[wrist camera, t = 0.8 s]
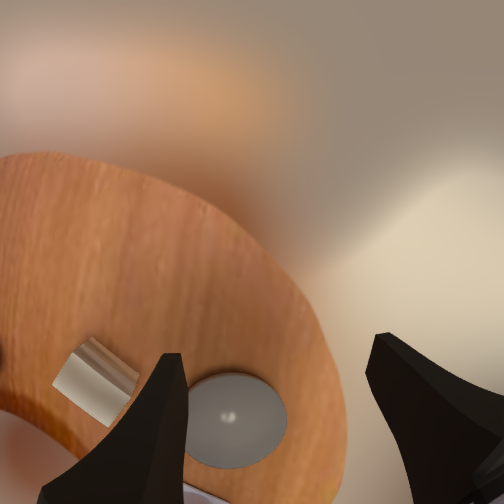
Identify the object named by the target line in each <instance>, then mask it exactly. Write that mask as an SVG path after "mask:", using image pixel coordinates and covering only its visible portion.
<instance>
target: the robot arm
mask: <svg viewBox="0 0 504 504" xmlns="http://www.w3.org/2000/svg"><path fill="white" fill-rule="evenodd" d="M365 374H366V377H367V380H368V383H369V386H370V388H371V391H372V394H373V396H374V398H375V400H376V402H377V404H378V406H379V408H380V410H381V412H382V414H383V416H384V418H385V420H386V422H387V424H388V426H389V428H390V430H391V432H392V433H393V435H394V438H395V440H396V442H397V445H398V447H399V450H400V453H401V456H402V459H403V462H404V466H405V469H406V472H407V476H408V480H409V484H410V488H411V493H412V497H413V502H414V504H504V396H503V395H499V394H496V393H493V392H491V391H488V390H485V389H483V388H480V387H478V386H476V385H473V384H471V383H469V382H467V381H465V380H463V379H461V378H459V377H457V376H455V375H454V374H452V373H450V372H448V371H447V370H445V369H443V368H442V367H440V366H438V365H437V364H435V363H434V362H432V361H431V360H429V359H428V358H426V357H425V356H423V355H422V354H420V353H419V352H417V351H416V350H415V349H413V348H412V347H410V346H409V345H408V344H406V343H405V342H403V341H402V340H400V339H399V338H397V337H396V336H394V335H393V334H391V333H389V332H387V333H382V334H376V335H375V339H374V342H373V346H372V350H371V354H370V358H369V361H368V365H367V368H366V372H365ZM188 417H189V395H188V387H187V382H186V378H185V373H184V368H183V363H182V358H181V353H164V354H163V355H162V356H161V357H160V359H159V361H158V363H157V365H156V367H155V369H154V370H153V372H152V374H151V376H150V377H149V379H148V381H147V382H146V384H145V386H144V387H143V389H142V390H141V392H140V393H139V395H138V397H137V398H136V399H135V401H134V402H133V404H132V405H131V406H130V408H129V409H128V411H127V412H126V413H125V415H124V416H123V417H122V419H121V420H120V421H119V422H118V423H117V425H116V426H115V427H114V428H113V429H112V430H111V432H110V433H109V434H108V435H107V436H106V437H105V438H104V439H103V440H102V441H101V442H100V443H99V444H98V445H97V446H96V447H95V448H94V449H93V450H92V451H91V452H90V453H89V454H87V455H86V456H85V457H84V458H83V459H81V460H80V461H79V462H78V463H76V464H75V465H74V466H73V467H72V468H70V469H69V470H67V471H66V472H65V473H63V474H62V475H60V476H59V477H57V478H56V479H54V480H53V481H51V482H50V483H48V484H46V485H44V486H43V487H42V489H41V492H40V494H39V496H38V500H37V504H229V502H227V501H225V500H222V499H220V498H217V497H215V496H212V495H210V494H208V493H206V492H203V491H201V490H199V489H197V488H194V487H192V486H190V485H188V484H186V483H184V482H183V465H184V455H185V445H186V436H187V427H188Z"/></svg>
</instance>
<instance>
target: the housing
mask: <svg viewBox="0 0 504 504" xmlns="http://www.w3.org/2000/svg"><path fill="white" fill-rule="evenodd" d="M139 375H140V374H139V373H138V372H137V371H135V370H134V369H132V368H131V367H130V366H128V365H127V364H126V363H124V362H123V361H122V360H121V359H119V358H118V357H117V356H115V355H114V354H113V353H112V352H110V351H109V350H108V349H106V348H105V347H104V346H103V345H101V344H100V343H99V342H98V341H97V340H95V339H94V338H93V337H92V336H91V337H90V338H89V339H88V340H86V341H85V342H84V343H83V344H82V345H80V346H79V347H78V348H77V349H75V350H74V351H73V352H72V354H71V355H70V357H69V358H68V360H67V361H66V363H65V364H64V366H63V368H62V369H61V371H60V372H59V374H58V376H57V377H56V379H55V381H54V382H53V384H52V385H53V386H54V387H55V388H57V389H58V390H59V391H60V392H61V393H63V394H64V395H65V396H66V397H68V398H69V399H70V400H71V401H73V402H74V403H75V404H76V405H78V406H79V407H80V408H82V409H83V410H84V411H86V412H87V413H88V414H90V415H91V416H92V417H94V418H95V419H97V420H98V421H99V422H101V423H102V424H104V425H105V426H107V427H109V426H110V425H111V423H112V422H113V421H114V419H115V418H116V417H117V415H118V414H119V413H120V411H121V410H122V409H123V407H124V406H125V405H126V404H127V402H128V401H129V400H130V398H131V396H132V394H133V391H134V388H135V385H136V383H137V380H138V377H139Z"/></svg>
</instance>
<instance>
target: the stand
mask: <svg viewBox="0 0 504 504" xmlns="http://www.w3.org/2000/svg"><path fill="white" fill-rule="evenodd" d="M188 395H189V417H188V427H187V436H186V445H185V451H186V452H187V453H188V454H189V455H190V456H191V457H193V458H194V459H195V460H197V461H199V462H200V463H203V464H205V465H208V466H211V467H215V468H221V469H235V468H242V467H246V466H249V465H252V464H254V463H257V462H259V461H260V460H262V459H264V458H265V457H267V456H268V455H269V454H270V453H271V452H272V451H274V450H275V448H276V447H277V446H278V445H279V443H280V442H281V440H282V438H283V436H284V434H285V430H286V426H287V414H286V409H285V406H284V404H283V402H282V400H281V398H280V397H279V396H278V394H277V393H276V392H275V390H274V389H273V388H272V387H271V386H270V385H269V384H267V383H266V382H265V381H263V380H261V379H259V378H257V377H255V376H252V375H249V374H245V373H238V372H229V373H221V374H216V375H213V376H210V377H207V378H205V379H203V380H201V381H199V382H198V383H196V384H195V385H194V386H192V387H191V388H190V389H189V390H188Z"/></svg>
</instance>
